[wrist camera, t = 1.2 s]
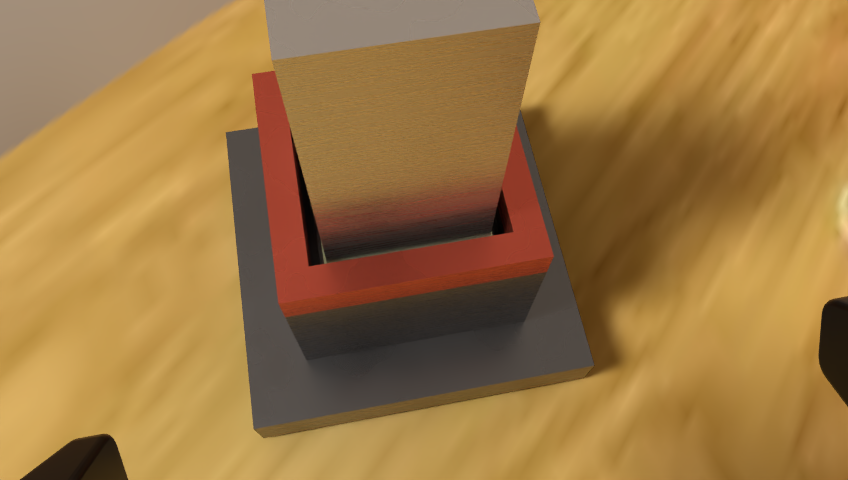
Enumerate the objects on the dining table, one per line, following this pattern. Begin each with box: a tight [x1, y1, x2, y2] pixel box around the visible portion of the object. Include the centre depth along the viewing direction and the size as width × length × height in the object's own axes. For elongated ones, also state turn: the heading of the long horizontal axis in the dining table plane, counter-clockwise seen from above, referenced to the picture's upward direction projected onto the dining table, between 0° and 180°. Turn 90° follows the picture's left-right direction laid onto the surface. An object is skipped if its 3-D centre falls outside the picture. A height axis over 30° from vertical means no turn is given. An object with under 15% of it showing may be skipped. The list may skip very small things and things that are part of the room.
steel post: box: [264, 0, 540, 264], centre depth 18 cm, size 4×4×12 cm
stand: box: [226, 71, 594, 438], centre depth 22 cm, size 10×10×6 cm
